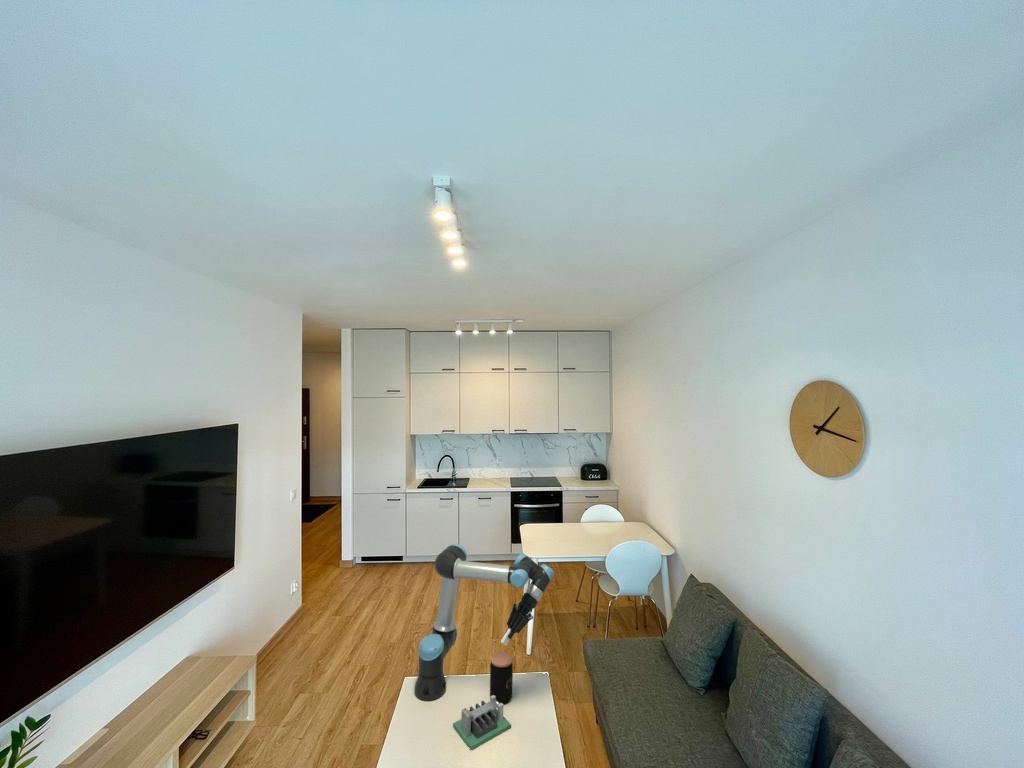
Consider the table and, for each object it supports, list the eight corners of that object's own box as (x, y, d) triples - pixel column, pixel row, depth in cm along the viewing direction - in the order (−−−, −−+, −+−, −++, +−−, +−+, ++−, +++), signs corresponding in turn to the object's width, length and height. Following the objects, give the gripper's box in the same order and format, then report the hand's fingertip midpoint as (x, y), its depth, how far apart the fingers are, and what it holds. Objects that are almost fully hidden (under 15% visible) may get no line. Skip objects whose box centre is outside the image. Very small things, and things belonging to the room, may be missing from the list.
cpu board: (452, 727, 176) (453, 704, 177) (491, 707, 188) (492, 685, 189) (470, 750, 164) (471, 726, 165) (511, 728, 176) (511, 705, 176)
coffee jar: (509, 707, 188) (510, 667, 189) (487, 703, 190) (487, 663, 191) (514, 691, 198) (514, 653, 199) (492, 688, 200) (493, 650, 201)
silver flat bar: (466, 716, 174) (466, 711, 174) (495, 701, 183) (495, 695, 183) (471, 722, 171) (471, 716, 171) (500, 706, 180) (500, 701, 180)
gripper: (545, 606, 193) (516, 655, 183) (527, 595, 204) (499, 641, 193) (536, 597, 190) (506, 646, 180) (519, 587, 201) (490, 633, 190)
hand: (503, 643), depth 186 cm, fingers closed
